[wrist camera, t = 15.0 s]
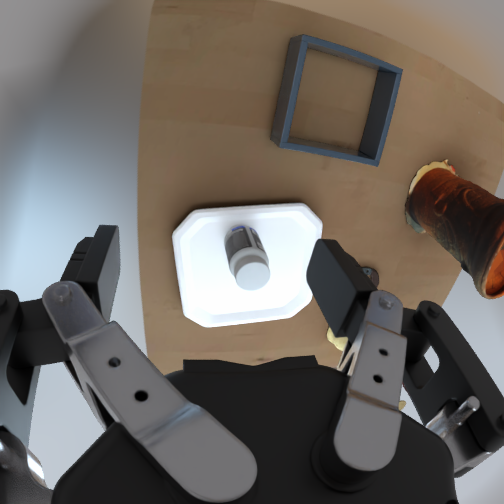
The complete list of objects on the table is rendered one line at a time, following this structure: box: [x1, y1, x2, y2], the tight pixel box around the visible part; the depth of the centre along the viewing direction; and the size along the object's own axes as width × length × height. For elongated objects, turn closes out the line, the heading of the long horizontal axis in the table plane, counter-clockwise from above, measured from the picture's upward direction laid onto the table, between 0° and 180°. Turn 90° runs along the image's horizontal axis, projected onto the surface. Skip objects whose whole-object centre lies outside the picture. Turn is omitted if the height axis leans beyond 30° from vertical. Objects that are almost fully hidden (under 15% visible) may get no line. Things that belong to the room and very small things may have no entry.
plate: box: [172, 203, 323, 327], centre depth 46 cm, size 21×21×2 cm
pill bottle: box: [224, 225, 270, 291], centre depth 39 cm, size 5×5×8 cm
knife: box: [362, 267, 379, 288], centre depth 52 cm, size 14×4×1 cm, turn 73°
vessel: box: [405, 159, 504, 299], centre depth 39 cm, size 14×14×20 cm
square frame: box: [270, 34, 403, 167], centre depth 34 cm, size 14×14×4 cm
